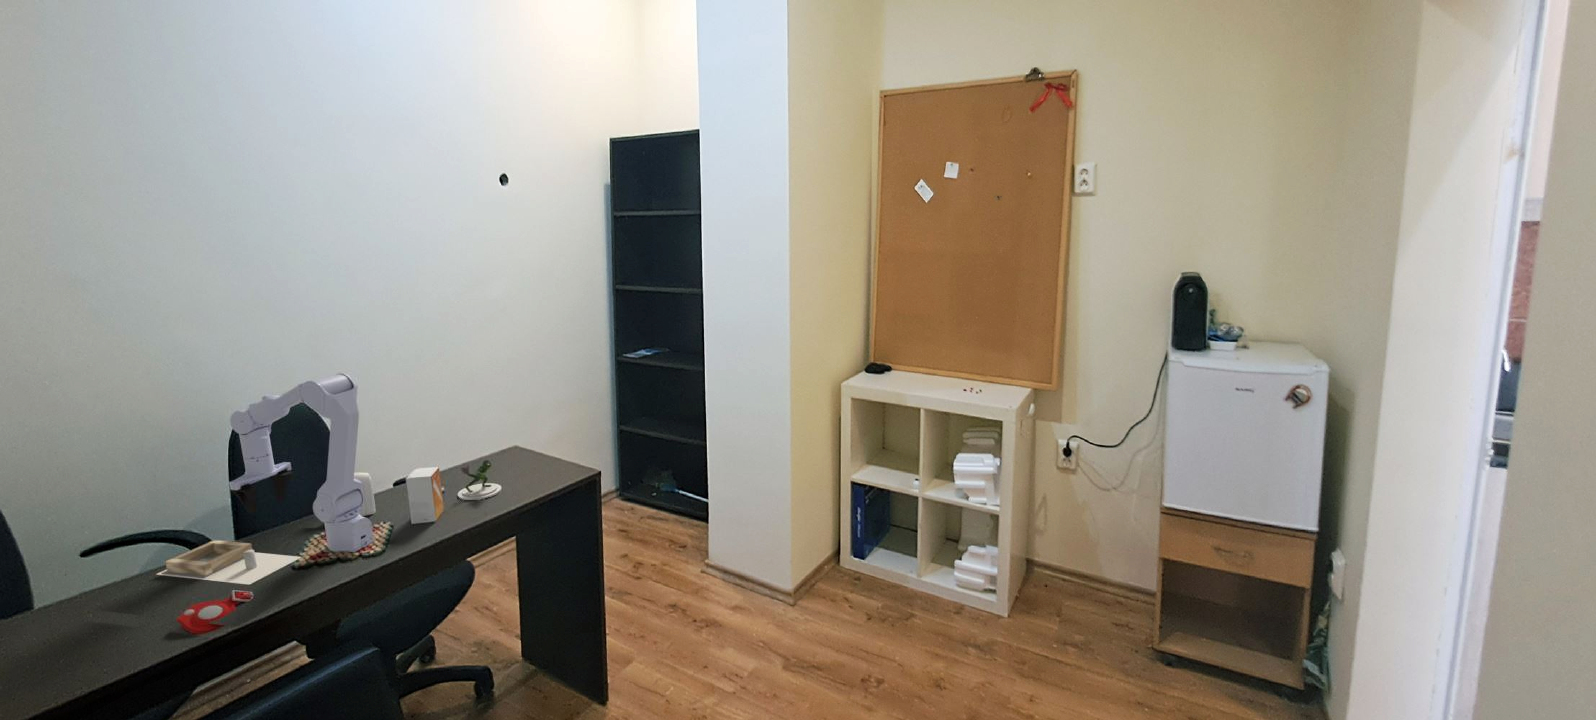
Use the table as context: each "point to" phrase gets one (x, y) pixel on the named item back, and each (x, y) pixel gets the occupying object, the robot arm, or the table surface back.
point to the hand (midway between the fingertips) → (266, 506)
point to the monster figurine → (479, 489)
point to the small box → (425, 495)
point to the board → (242, 568)
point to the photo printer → (366, 494)
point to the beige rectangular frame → (190, 559)
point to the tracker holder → (211, 612)
